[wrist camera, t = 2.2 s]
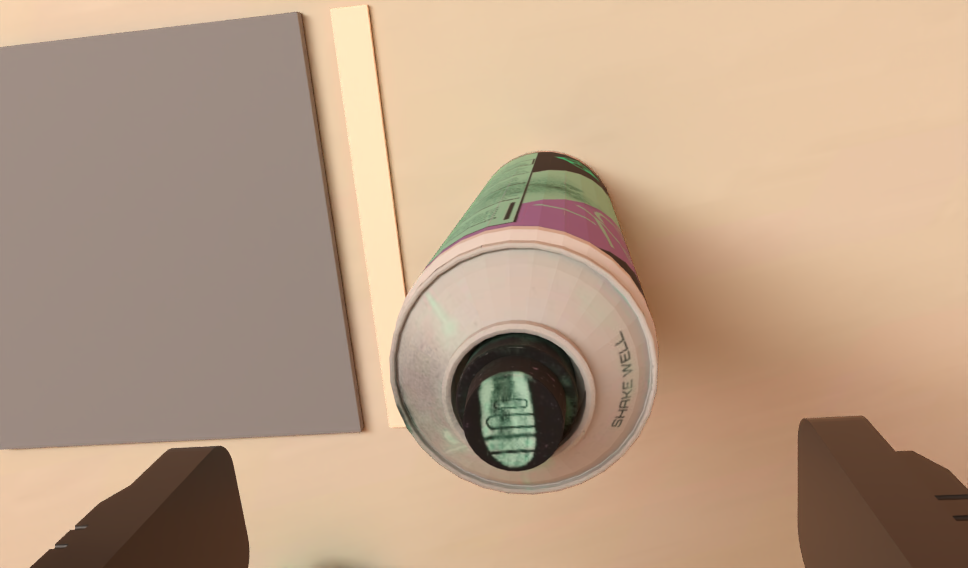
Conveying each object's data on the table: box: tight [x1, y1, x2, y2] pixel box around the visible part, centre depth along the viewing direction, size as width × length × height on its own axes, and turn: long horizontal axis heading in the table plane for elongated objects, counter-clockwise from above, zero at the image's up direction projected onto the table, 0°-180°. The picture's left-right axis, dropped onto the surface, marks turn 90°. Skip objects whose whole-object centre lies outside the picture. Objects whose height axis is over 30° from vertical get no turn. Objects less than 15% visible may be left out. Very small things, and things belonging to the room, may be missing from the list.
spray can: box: [389, 151, 659, 494], centre depth 22 cm, size 6×6×20 cm
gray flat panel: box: [0, 5, 406, 449], centre depth 34 cm, size 21×18×1 cm
